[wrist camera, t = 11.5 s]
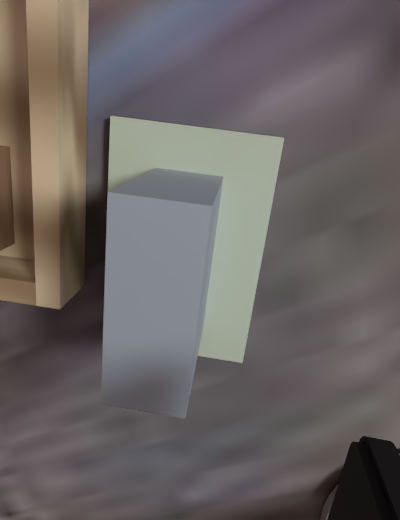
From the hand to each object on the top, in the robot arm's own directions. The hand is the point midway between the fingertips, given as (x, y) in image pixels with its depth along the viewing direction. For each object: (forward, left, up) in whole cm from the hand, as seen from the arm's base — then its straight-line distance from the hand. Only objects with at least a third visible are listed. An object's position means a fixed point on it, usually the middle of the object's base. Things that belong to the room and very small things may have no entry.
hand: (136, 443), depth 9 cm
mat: (+1, +1, -12) cm, 12 cm away
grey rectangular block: (+1, +1, -12) cm, 12 cm away
